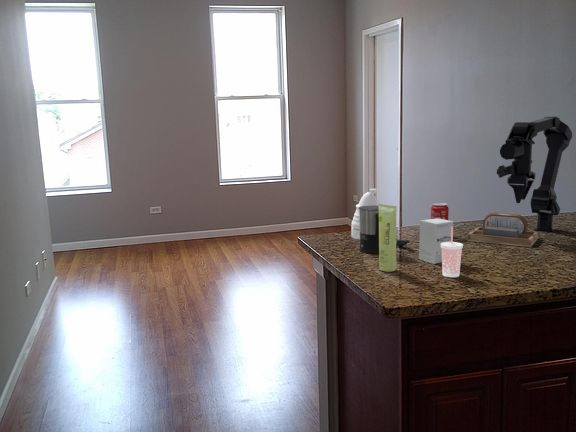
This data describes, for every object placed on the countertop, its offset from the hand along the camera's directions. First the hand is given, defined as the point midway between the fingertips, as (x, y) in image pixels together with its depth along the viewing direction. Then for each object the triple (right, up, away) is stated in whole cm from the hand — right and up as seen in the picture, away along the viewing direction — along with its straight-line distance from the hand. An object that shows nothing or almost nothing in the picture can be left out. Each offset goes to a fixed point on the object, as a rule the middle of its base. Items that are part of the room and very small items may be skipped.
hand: (520, 201), depth 210 cm
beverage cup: (-37, -22, -44) cm, 62 cm away
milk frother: (-51, -17, -12) cm, 55 cm away
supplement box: (-38, -19, -28) cm, 50 cm away
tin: (-6, -13, 0) cm, 14 cm away
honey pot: (-53, -13, +9) cm, 56 cm away
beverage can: (-28, -13, +7) cm, 31 cm away
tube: (-54, -21, -37) cm, 69 cm away
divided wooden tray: (-7, -14, -2) cm, 16 cm away
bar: (-9, -14, -5) cm, 17 cm away
